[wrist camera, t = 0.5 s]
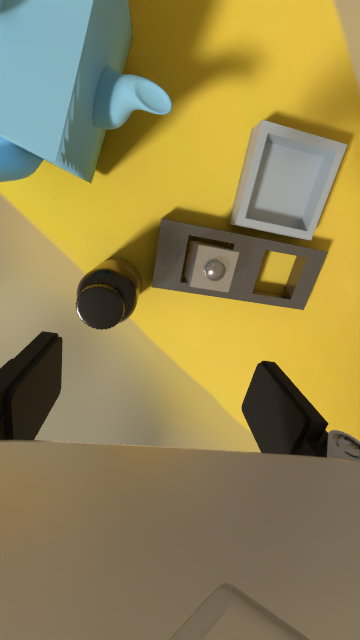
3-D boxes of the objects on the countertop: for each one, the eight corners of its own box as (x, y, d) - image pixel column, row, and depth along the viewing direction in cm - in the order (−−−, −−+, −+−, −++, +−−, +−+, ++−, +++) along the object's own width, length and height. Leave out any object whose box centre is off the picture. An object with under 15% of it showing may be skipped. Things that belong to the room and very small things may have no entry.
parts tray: (252, 129, 28) (262, 119, 26) (330, 151, 30) (347, 144, 27) (228, 224, 33) (235, 224, 30) (298, 238, 34) (311, 240, 32)
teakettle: (95, -71, 21) (-8, -566, 8) (169, 159, 29) (182, 107, 15) (-83, 17, 22) (-444, -287, 9) (34, 217, 30) (-65, 215, 16)
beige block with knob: (190, 239, 33) (199, 245, 26) (223, 246, 34) (241, 253, 27) (183, 274, 35) (191, 288, 28) (215, 279, 36) (230, 294, 29)
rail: (152, 282, 35) (151, 287, 33) (161, 218, 31) (161, 218, 29) (294, 304, 39) (303, 309, 36) (316, 249, 35) (327, 251, 33)
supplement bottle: (146, 265, 34) (142, 287, 23) (135, 307, 36) (127, 345, 25) (98, 250, 32) (69, 267, 21) (90, 295, 35) (60, 331, 24)
